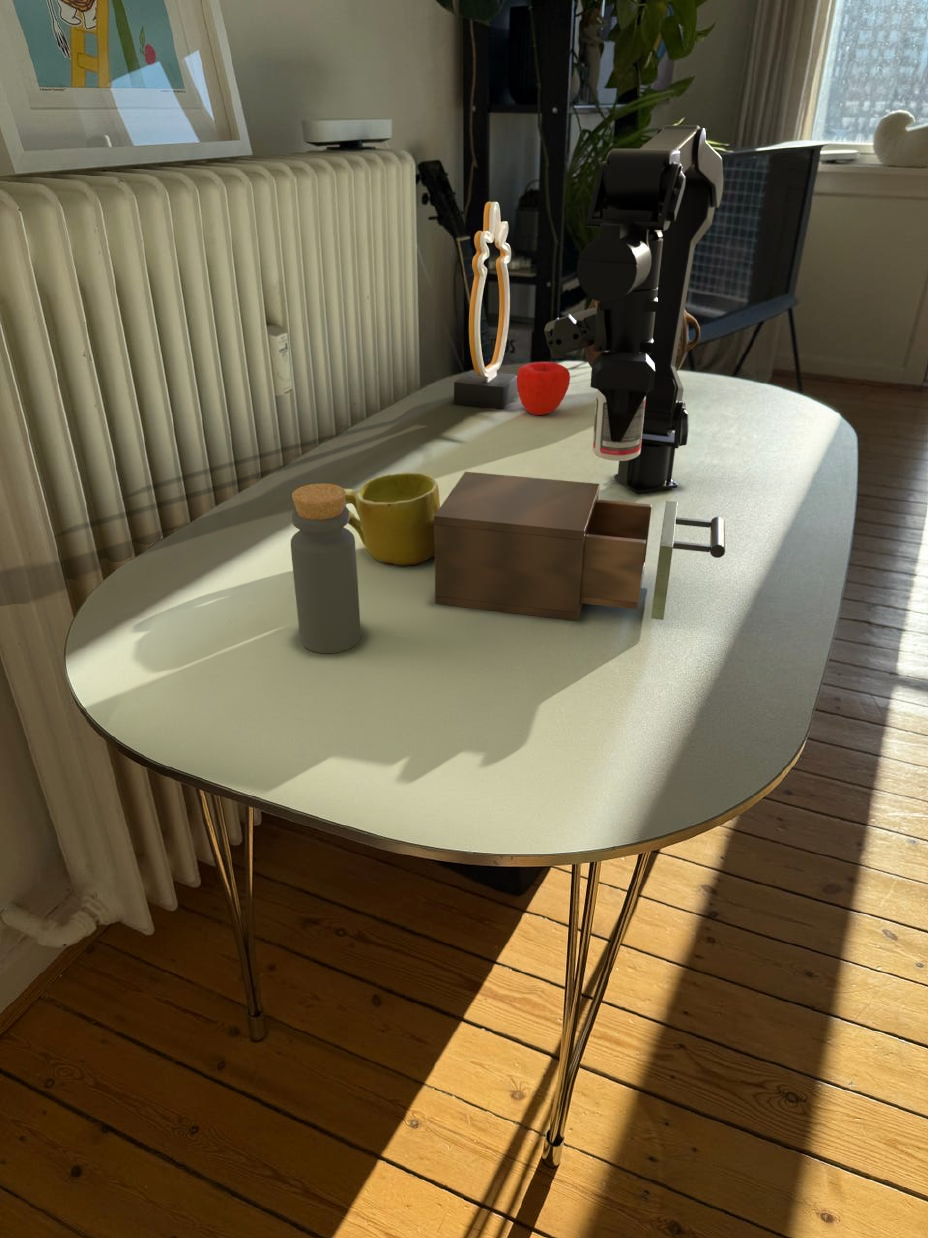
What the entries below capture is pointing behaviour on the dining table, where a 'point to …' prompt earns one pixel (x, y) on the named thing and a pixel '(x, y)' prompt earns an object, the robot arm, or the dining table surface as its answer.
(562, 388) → the apple
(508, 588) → the cabinet
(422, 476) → the mug
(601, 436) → the pill bottle
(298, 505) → the bottle
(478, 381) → the white statuette
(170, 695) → the dining table surface
